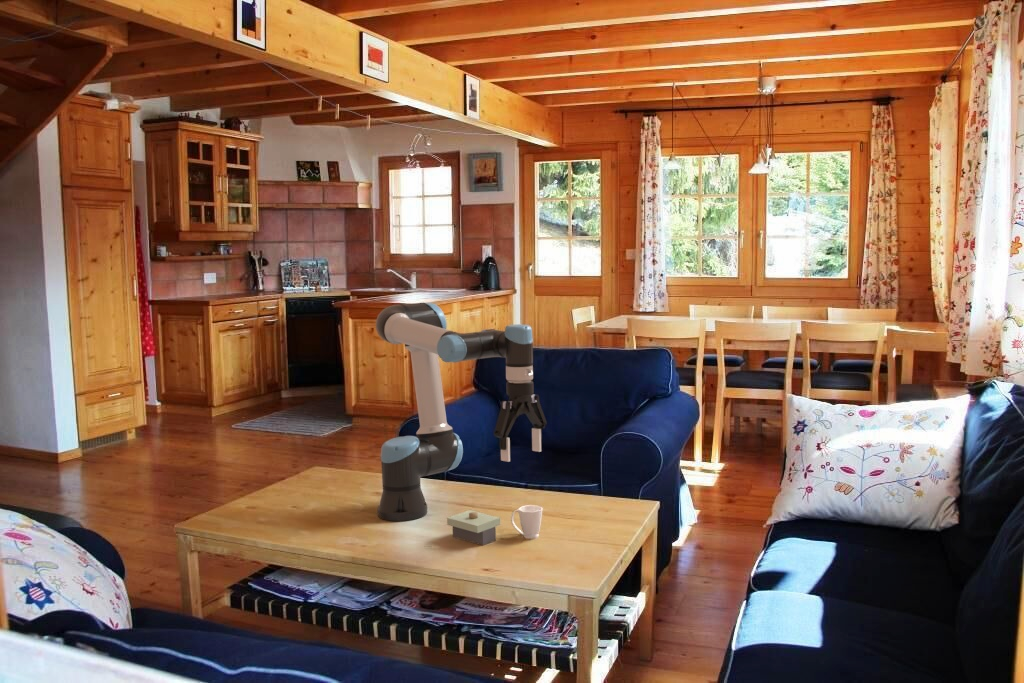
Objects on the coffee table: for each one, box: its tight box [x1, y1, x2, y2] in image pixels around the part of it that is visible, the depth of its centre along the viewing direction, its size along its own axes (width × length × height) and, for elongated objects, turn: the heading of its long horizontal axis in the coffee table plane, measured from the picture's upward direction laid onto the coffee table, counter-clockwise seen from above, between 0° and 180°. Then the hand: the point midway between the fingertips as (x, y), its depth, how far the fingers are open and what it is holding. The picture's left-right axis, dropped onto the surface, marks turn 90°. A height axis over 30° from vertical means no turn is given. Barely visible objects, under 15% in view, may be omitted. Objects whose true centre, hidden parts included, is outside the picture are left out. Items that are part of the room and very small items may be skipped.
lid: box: [446, 509, 501, 533], centre depth 243 cm, size 12×9×3 cm
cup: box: [510, 504, 543, 540], centre depth 245 cm, size 7×10×8 cm
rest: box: [452, 526, 497, 546], centre depth 244 cm, size 12×5×4 cm, turn 48°
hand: (521, 456), depth 243 cm, fingers open, 13 cm apart
